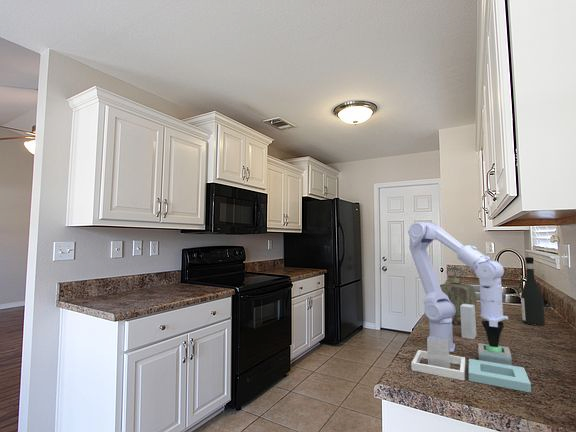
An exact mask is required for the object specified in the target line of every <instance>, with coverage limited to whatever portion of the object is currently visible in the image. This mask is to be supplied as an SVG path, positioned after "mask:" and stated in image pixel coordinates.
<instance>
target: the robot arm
mask: <svg viewBox="0 0 576 432" xmlns="http://www.w3.org/2000/svg"><path fill="white" fill-rule="evenodd" d="M407 233H408V236H409V246H408V247H409V251H410V254H411V256H412V257H411V258H412V259H413V263H414V266H415V269H416V270H417V274H418V276H419V279H420V281H421V284H422V287H423V289H424V292H425V296H424V299H423V304H424V314H425V316H426V318H427V319H428V322H429V325H428V327H429V336H433V337H440V338H448V339H449V346H450V353H455V350H456V349H455V348H456V343H454V340H453V339H454V337H453V336H454V334H453V318H454V317H453V316H454V315H455V312H456V310H455V307H454V305H453V304H452V303H451V302H450V300H449V298H448V296H447V295H446V294H445V293H443V292H442V290H441V287H440V285H441V284H440V282H439V279H438V278H437V275H436V272H435V269H434V266H433V264H432V262H431V258H430V255H429V254H428V251H427V249H428V247H429V246H430V244H431V243H433V241H438V242H439V243H441V244H443V245H444V246H445V247H447V248H449V249H450V250H451V251H453V252H454V253H456V257H457V259H458V260H459V261H460V262H462V263H463V264H465V266H467V267H469V268H470V269H471V270H473V271H474V273H475V275H476V277H477V278H478V279H479V294H480V295H479V298H480V302H479V303H480V318H482V319H484V320H481V325H482V326H483V328H484V330H485V333H486V337H487V341H488V344H489V345H490V346H492V347H498V346H500V338H501V334H502V331H503V329H504V327H505V325H504V322H503V321H504V320H507V321H508V320H509V317H508V316H507V315H504V309H503V308H504V307H503V291H502V290H503V289H502V287H503V286H502V277H503V275H504V273H505V269H504V267H503V265H502V264H501V263H500V262H499V261H497V260H491V257H490V256H489V255H485V254H484V253H482V252H480V251H479V250H478V248H477V247H476V246H474V245H469V244H467V245H464V244H462V243H461V242H460V241H459V240H457V239H456V238H454V236H452V235H451V234H449V233H448V232H447V231H446V230H444V229H443V227H441V226H439V225H437V224H436V223H434V222H423V221H422V222H421V221H414V222H412V224H411V225H410V227H409V228H408V230H407Z"/></svg>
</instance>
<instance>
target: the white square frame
mask: <svg viewBox="0 0 576 432" xmlns="http://www.w3.org/2000/svg"><path fill="white" fill-rule="evenodd" d="M422 359H425V360H428V352H427V351H426V350H421V349H418V350H417V352H416V354H415V356H414V357H413V359H412V360H411V362H410V363H411V364H410V365H411V371H413V372H417V373H418V372H419V373H423V374H428V375H429V374H430V375H435V376H439V377H443V378H449V379H454V380H460V381H465V377H466V357H465V356H458V355H452V354H450V364H455V365H460V367H459V369H454V368H450V369H449V368H443V367H438V366H432V365H428V363H427V364H426V363H420V362H421V360H422Z"/></svg>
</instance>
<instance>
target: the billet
mask: <svg viewBox="0 0 576 432" xmlns="http://www.w3.org/2000/svg"><path fill="white" fill-rule="evenodd" d="M426 344H427V345H426V347H427V348H426V350H427V352H428V359H427V365H432V366H438V367H443V368H449V369H451V363H450V355H451V352H450V346H449V339H448V338H440V337H433V336H430V335H429V336H427V339H426Z"/></svg>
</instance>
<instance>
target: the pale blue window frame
mask: <svg viewBox="0 0 576 432" xmlns="http://www.w3.org/2000/svg"><path fill="white" fill-rule="evenodd" d="M468 381H469V382H473V383H479V384H483V385H484V384H485V385H489V386H495V387H500V388H503V389H504V388H506V389H510V390H516V391H521V392H525V393H526V392H527V393H532V384H531V381H530V379H529V377H528V373H527V372H526V370H525V368H524V366H523V367H522V366H517V365H505V364H499V363H493V362H487V361H481V360H479V359H473V358H469V359H468Z"/></svg>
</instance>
